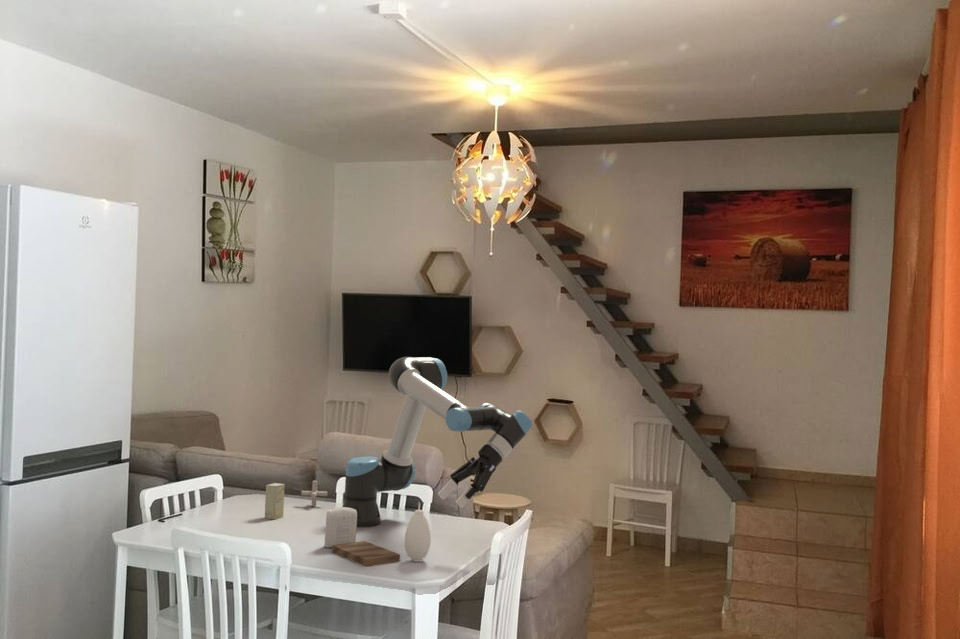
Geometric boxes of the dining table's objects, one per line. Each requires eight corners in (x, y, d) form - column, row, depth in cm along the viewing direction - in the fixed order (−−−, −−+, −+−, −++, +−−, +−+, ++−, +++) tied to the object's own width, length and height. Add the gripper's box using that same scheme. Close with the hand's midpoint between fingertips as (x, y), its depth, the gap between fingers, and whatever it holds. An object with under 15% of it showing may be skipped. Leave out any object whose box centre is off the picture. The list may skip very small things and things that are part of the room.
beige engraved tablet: (352, 543, 277) (354, 505, 277) (357, 546, 273) (359, 507, 274) (322, 545, 272) (324, 507, 272) (326, 548, 268) (328, 509, 269)
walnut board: (331, 551, 265) (331, 545, 265) (364, 547, 273) (364, 540, 273) (366, 566, 250) (366, 559, 250) (399, 561, 257) (400, 554, 257)
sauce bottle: (409, 556, 263) (412, 498, 264) (433, 559, 261) (435, 500, 261) (399, 562, 256) (402, 502, 256) (424, 565, 253) (427, 505, 254)
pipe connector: (302, 503, 339) (303, 478, 340) (327, 504, 340) (328, 479, 341) (299, 508, 329) (300, 482, 330) (325, 509, 330) (326, 483, 331)
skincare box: (274, 519, 307) (276, 486, 308) (263, 518, 309) (265, 484, 309) (283, 516, 313) (285, 483, 314) (273, 515, 315) (275, 482, 315)
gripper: (520, 465, 259) (474, 517, 252) (484, 454, 282) (440, 501, 275) (505, 448, 257) (458, 500, 250) (470, 438, 279) (426, 485, 272)
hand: (449, 501), depth 262 cm, fingers open, 13 cm apart
